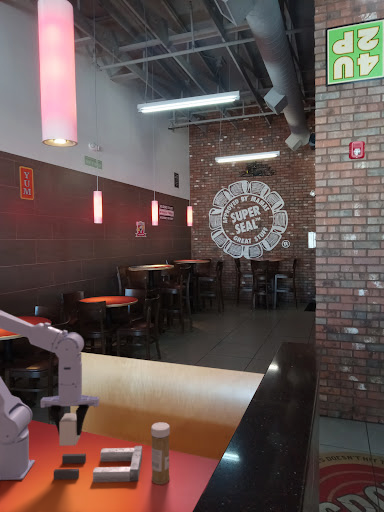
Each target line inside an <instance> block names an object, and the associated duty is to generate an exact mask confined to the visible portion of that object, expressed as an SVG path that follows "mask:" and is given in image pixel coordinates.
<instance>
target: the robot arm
mask: <svg viewBox="0 0 384 512" xmlns="http://www.w3.org/2000/svg"><path fill="white" fill-rule="evenodd" d="M0 330H4V331H7V332H10V333H13V334H17V335H20V336H22V337H25V338H28V341H29V343H30V345H33V346H35V347H37V348H40V349H43V350H45V351H48V352H50V353H55V356H56V357H57V358H58V395H55V396H47V397H44V396H43V397H42V398H41V399H40V408H42V409H44V408H46V407H47V408H48V407H50V410H49V415H50V416H51V418H52V420H53V422H54V423H55V427H56V429H57V434H58V435H59V422H60V420H61V419H62V418H63V416H64V415H65V408H66V407H77V408H76V410H75V413H76V416H77V435H80V434H82V431H83V426H84V421H85V419H86V415H87V413H88V410H89V408H90V407H94V408H95V407H96V408H97V407H99V406H100V396H93V395H86V394H83V389H82V387H83V385H82V383H83V380H82V379H83V362H82V350H83V349H84V346H85V340H84V338H83V337H82V335H80V334H79V333H77V332H73V331H72V332H68V330H66V329H63V330H61V329H58V328H55V327H53V326H52V325H51V323H49V322H44V323H43V322H39V323H37V324H33V323H30V322H27V321H25V320H24V319H21V318H19V317H17V316H14V315H12V314H9V313H7V312H5V311H3V310H1V309H0ZM32 419H33V411H32V409H31V408H30V407H29V406H28V405H26V404H25V403H23V401H22V400H21V398H20V397H17V396H14V395H12V393H11V392H10V390H9V388H8V386H7V385H6V383H5V382H4V380H3V379H2V376H0V481H7V480H8V481H9V480H11V481H12V480H13V481H14V480H18V481H19V480H24V478H25V477H26V475H27V474H28V472H29V471H30V470H31V468H32V467H33V465H34V464H35V459H30V456H29V455H30V453H29V452H30V451H29V449H30V447H29V445H30V444H29V443H30V440H29V438H30V437H29V435H30V434H29V432H30V431H29V428H28V427H29V426H28V425H29V424H30V423H31V422H32Z"/></svg>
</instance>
